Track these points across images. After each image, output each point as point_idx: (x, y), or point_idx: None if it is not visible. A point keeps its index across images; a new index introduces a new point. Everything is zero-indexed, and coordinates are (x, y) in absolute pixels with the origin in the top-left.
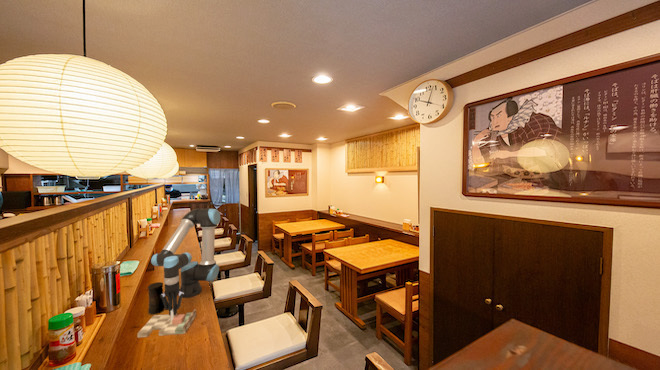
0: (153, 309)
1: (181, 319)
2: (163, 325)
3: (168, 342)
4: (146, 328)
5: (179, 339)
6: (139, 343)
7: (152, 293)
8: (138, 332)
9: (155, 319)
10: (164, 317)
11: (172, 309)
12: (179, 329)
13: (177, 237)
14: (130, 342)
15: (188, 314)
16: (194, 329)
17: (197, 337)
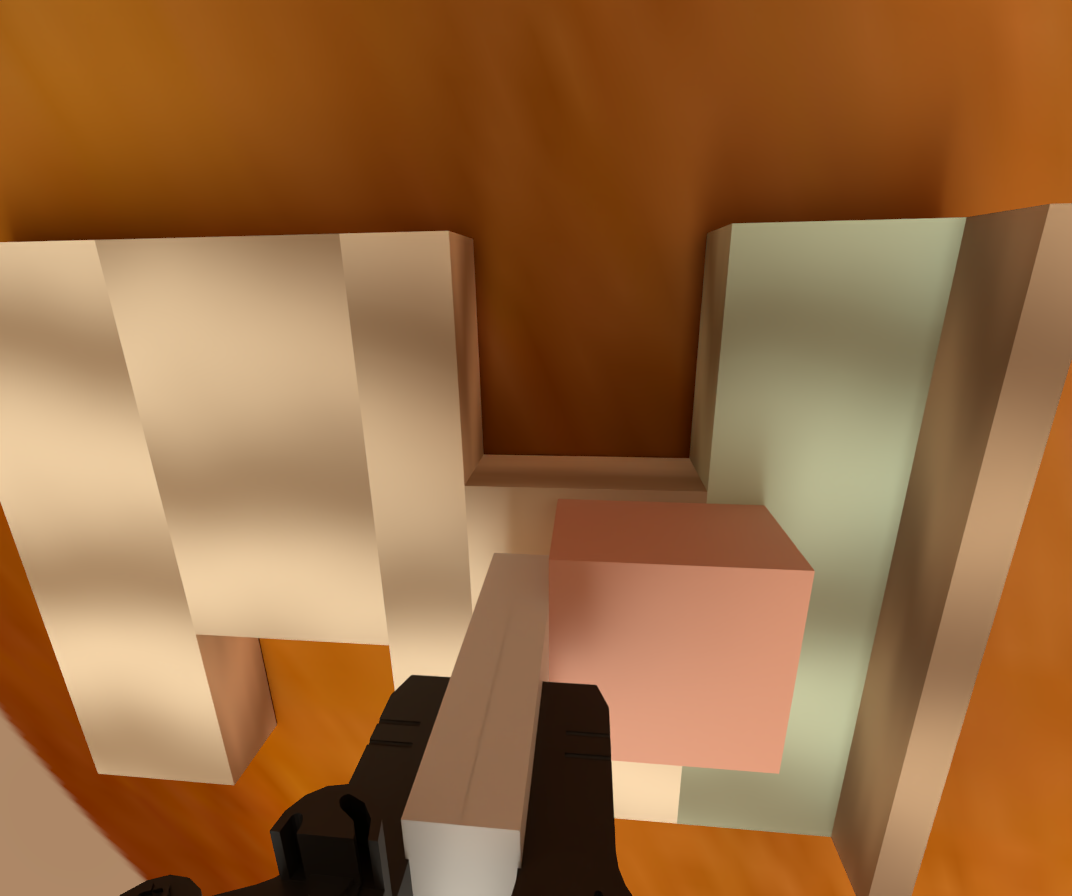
0: None
1: (774, 757)
2: (383, 635)
3: (640, 879)
4: (138, 682)
5: (776, 862)
6: (268, 818)
7: None
8: (93, 753)
9: (83, 429)
10: (230, 376)
11: (433, 879)
12: (757, 823)
13: None
14: (140, 779)
15: (803, 320)
16: (974, 703)
17: (1052, 882)
